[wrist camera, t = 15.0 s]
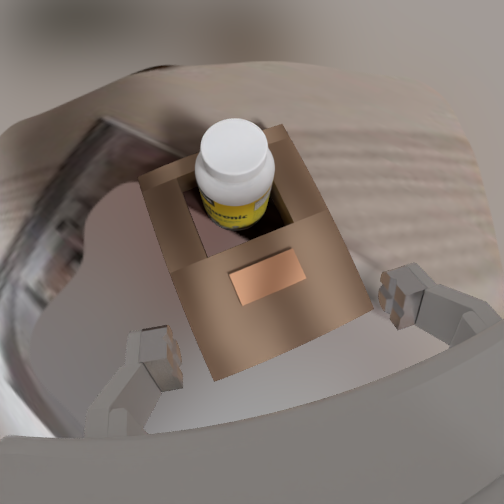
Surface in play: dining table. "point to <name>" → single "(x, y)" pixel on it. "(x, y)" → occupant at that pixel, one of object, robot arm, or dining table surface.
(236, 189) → the supplement bottle
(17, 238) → the dining table surface
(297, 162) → the block
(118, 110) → the dining table surface
